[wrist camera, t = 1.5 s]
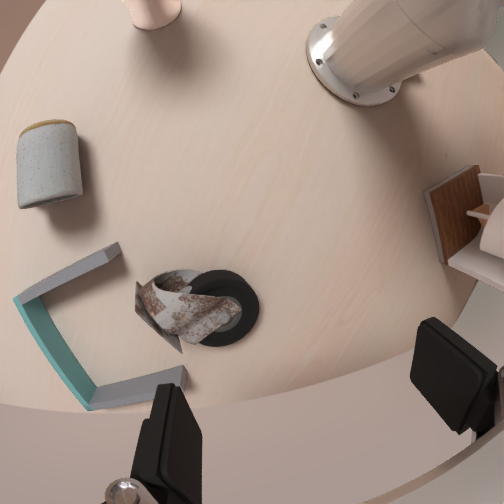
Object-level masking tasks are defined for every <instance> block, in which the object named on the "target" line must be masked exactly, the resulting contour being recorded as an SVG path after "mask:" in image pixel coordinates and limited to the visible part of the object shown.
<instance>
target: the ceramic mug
mask: <svg viewBox="0 0 504 504" xmlns="http://www.w3.org/2000/svg"><path fill="white" fill-rule="evenodd" d="M16 159H17V198H18V207H19V208H20V209H27V208H33V207H37V206H42V205H47V204H52V203H56V202H60V201H65V200H68V199H72V198H76V197H78V196H81V195H82V194H83V187H82V179H81V171H80V161H79V147H78V136H77V131H76V127H75V125H73V124H72V123H71V122H69V121H66V120H56V119H55V120H47V121H42V122H39V123H36V124H33V125H31V126H29V127H27V128H26V129H25V130H24V131H23V132H22V133H21V134H20V136H19V140H18V145H17V154H16Z"/></svg>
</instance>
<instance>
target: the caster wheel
mask: <svg viewBox="0 0 504 504" xmlns="http://www.w3.org/2000/svg"><path fill="white" fill-rule="evenodd" d="M135 312H136V313H137V314H138V315H139V316H140V317H141V318H142V319H143V320H144V321H145V322H146V323H147V324H148V325H149V326H150V327H152V328H153V329H154V330H155V331H156V332H157V333H158V334H159V335H160V336H162V337H163V338H164V339H165V340H166V341H167V342H168V343H169V344H171V345H172V346H173V347H174V348H175V349H176V350H178V351H179V352H180V353H182V349H181V345H180V341H179V337H178V336H180V337H181V338H182V339H183V340H184V341H186V342H188V343H191V344H197V343H200V344H203V345H206V346H212V347H219V346H226V345H229V344H232V343H234V342H236V341H238V340H240V339H241V338H243V337H244V336H245V335H246V334H247V333H248V332H249V331H250V330H251V329H252V327H253V326H254V324H255V322H256V320H257V317H258V314H259V301H258V298H257V296H256V294H255V292H254V291H253V289H252V288H251V287H250V286H249V284H248V283H247V282H246V281H245V280H244V279H243V278H242V277H241V276H240V275H238V274H236V273H234V272H231V271H227V270H213V271H209V272H205V273H201V272H199V271H195V270H191V269H177V270H171V271H168V272H165V273H162V274H160V275H157V276H156V277H154V278H153V279H152V280H151V281H149V282H148V283H147V284H146V285H144V286H143V287H142V286H141V285H140V284H139V282H137V281H136V294H135ZM182 354H183V353H182Z"/></svg>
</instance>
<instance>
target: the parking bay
mask: <svg viewBox="0 0 504 504" xmlns="http://www.w3.org/2000/svg"><path fill="white" fill-rule="evenodd" d="M121 252H122V251H121V249H120V246H119V244H118V242H116V243H114V244H112V245H110V246H108V247H105V248H103V249H101V250H99V251H97V252H95V253H93V254H91V255H89V256H87V257H85V258H83V259H81V260H79V261H77V262H75V263H73V264H71V265H70V266H68V267H66V268H64V269H62V270H60V271H58V272H56V273H54V274H53V275H51V276H49V277H47V278H45V279H43V280H42V281H40V282H38V283H36V284H34V285H33V286H31V287H29V288H27V289H26V290H25V291H23V292H22V293H20V294H19V295H17V296H16V297H15V298H13V301H14V303H15V305H16V307H17V309H18V311H19V312H20V314H21V316H22V318H23V320H24V322H25V323H26V325H27V327H28V329H29V330H30V332H31V334H32V335H33V337H34V339H35V340H36V342H37V344H38V345H39V347H40V348H41V350H42V351H43V353H44V355H45V356H46V358H47V359H48V361H49V362H50V363H51V365H52V366H53V368H54V369H55V371H56V372H57V373H58V375H59V376H60V377H61V379H62V380H63V381H64V383H65V384H66V385H67V387H68V388H69V389H70V391H71V392H72V393H73V394H74V396H75V397H76V398H77V399H78V400H79V402H80V403H81V404H82V405H83V406H84V408H85V409H86V410H87V411H93V410H100V409H106V408H112V407H118V406H123V405H128V404H134V403H139V402H143V401H148V400H153V399H154V397H155V393H156V389H157V386H158V385H159V384H166V383H174V384H175V386H180V387H181V389H182V392H185V385H186V378H187V370H186V369H185V367H184V366H183V365H181V366H178V367H174V368H171V369H168V370H164V371H160V372H157V373H153V374H149V375H146V376H142V377H138V378H134V379H130V380H126V381H122V382H118V383H113V384H109V385H104V386H100V387H96V386H95V384H94V383H93V382H92V380H91V379H90V378H89V376H88V375H87V374H86V372H85V371H84V369H83V368H82V367H81V365H80V364H79V362H78V361H77V359H76V358H75V357H74V355H73V354H72V352H71V351H70V349H69V347H68V346H67V344H66V343H65V341H64V340H63V338H62V336H61V335H60V333H59V331H58V330H57V328H56V326H55V325H54V323H53V321H52V319H51V318H50V316H49V314H48V312H47V310H46V309H45V307H44V305H43V303H42V301H41V299H40V297H39V296H40V295H42V294H44V293H46V292H48V291H50V290H51V289H53V288H55V287H57V286H59V285H61V284H64V283H66V282H68V281H70V280H72V279H74V278H76V277H78V276H80V275H82V274H84V273H86V272H88V271H90V270H92V269H95V268H97V267H99V266H101V265H103V264H105V263H107V262H109V261H111V260H112V259H113V258H114V257H116V256H117V255H118V254H119V253H121Z"/></svg>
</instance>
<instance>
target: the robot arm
mask: <svg viewBox="0 0 504 504" xmlns="http://www.w3.org/2000/svg"><path fill="white" fill-rule="evenodd" d="M500 7H504V0H354V1H353V2H352V3H351V4H350V5H349V6H348V7H347V9H346V10H345V11H344V12H343V13H342V14H341V16H333V17H328V18H326V19H323V20H321V21H320V22H319V23H317V24H316V25H315V26H314V28H313V29H312V30H311V32H310V34H309V35H308V39H307V42H306V52H307V57H308V61H309V63H310V66H311V68H312V70H313V71H314V73H315V75H316V76H317V78H318V79H319V80H320V81H321V82H322V84H323V85H324V86H325V87H326V88H328V89H329V90H330V91H331V92H332V93H334V94H335V95H337V96H338V97H340V98H341V99H343V100H345V101H348V102H350V103H353V104H356V105H360V106H377V105H380V104H383V103H385V102H387V101H390V100H391V99H392V98H393V97H394V96H395V95H396V94H397V93H398V91H399V89H400V86H401V84H402V81H403V80H405V79H407V78H409V77H412V76H414V75H416V74H419V73H421V72H423V71H426V70H428V69H431V68H433V67H436V66H438V65H441V64H443V63H446V62H449V61H451V60H454V59H457V58H459V57H462V56H465V55H468V54H470V53H473V52H476V51H478V50H480V49H482V48H484V47H485V46H487V45H488V44H489V43H490V41H491V40H492V38H493V36H494V34H495V30H496V24H497V12H498V9H499V8H500ZM316 63H317V64H318V65H317V64H316ZM353 96H354V97H353ZM496 369H497V365H496V364H495V363H493V362H492V361H491V360H490V359H488V358H487V357H486V356H485V355H483V354H482V353H481V352H480V351H478V350H477V349H476V348H475V347H473V346H472V345H471V344H470V343H468V342H467V341H466V340H464V339H463V338H462V337H461V336H459V335H458V334H457V333H455V332H454V331H453V330H451V329H450V328H449V327H448V326H446V325H445V324H444V323H442V322H441V321H440V320H438V319H437V318H435V317H431V318H428V319H426V320H424V321H422V322H421V323H420V326H419V327H418V329H417V337H416V343H415V350H414V356H413V361H412V367H411V372H410V379H411V382H412V383H413V384H414V385H415V387H416V388H417V389H418V390H419V391H420V392H421V394H422V395H423V396H424V397H425V398H426V400H427V401H428V402H429V403H430V404H431V406H432V407H433V408H434V409H435V410H436V411H437V413H438V414H439V415H440V417H441V418H442V419H443V420H444V421H445V423H446V424H447V425H448V426H449V427H450V429H451V430H452V431H456V432H457V433H458V435H460V434H462V433H463V432H465V431H466V430H467V429H469V427H470V428H471V429H472V439H471V445H469V446H468V447H467V448H465V449H464V450H463V451H461V452H459V453H458V454H457V455H455V456H453V457H452V458H450V459H449V460H447V461H446V462H444V463H442V464H441V465H439V466H437V467H436V468H434V469H432V470H430V471H429V472H427V473H425V474H423V475H422V476H420V477H418V478H416V479H414V480H412V481H410V482H408V483H406V484H404V485H402V486H400V487H398V488H396V489H394V490H392V491H389V492H387V493H385V494H382V495H380V496H378V497H376V498H373V499H370V500H368V501H365V502H363V503H360V504H504V366H502V367H501V368H500V370H499V372H497V371H496ZM105 500H106V501H105V502H104V503H102V504H202V433H201V430H200V428H199V426H198V424H197V422H196V420H195V418H194V416H193V413H192V411H191V409H190V407H189V405H188V403H187V401H186V398H185V396H184V394H183V392H182V389H181V387H180V386H175V384H174V383H166V384H159V385H158V386H157V389H156V393H155V397H154V401H153V405H152V410H151V414H150V418H149V419H145V420H144V421H143V423H142V427H141V431H140V435H139V439H138V444H137V447H136V452H135V456H134V461H133V465H132V470H131V475H130V478H120V479H117V480H115V481H113V482H112V483H111V484H110V485H109V486H108V487H107V489H106V492H105Z"/></svg>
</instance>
